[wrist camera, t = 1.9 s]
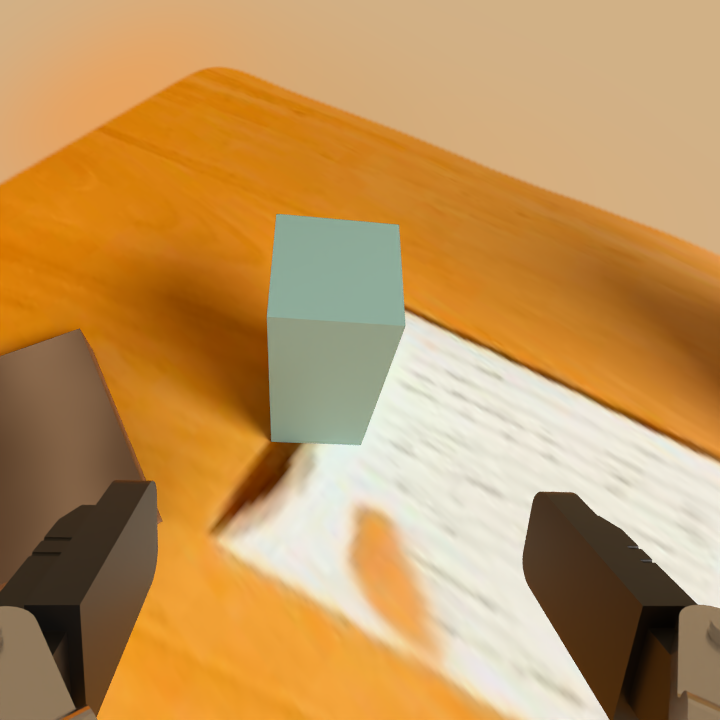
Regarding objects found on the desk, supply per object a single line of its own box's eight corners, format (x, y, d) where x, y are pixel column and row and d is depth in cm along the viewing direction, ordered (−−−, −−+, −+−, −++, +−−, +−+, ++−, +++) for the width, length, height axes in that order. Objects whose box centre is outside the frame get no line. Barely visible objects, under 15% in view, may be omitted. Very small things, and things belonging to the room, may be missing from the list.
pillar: (360, 367, 29) (398, 224, 20) (360, 445, 27) (405, 325, 17) (277, 363, 28) (276, 213, 19) (271, 441, 26) (266, 317, 17)
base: (92, 349, 27) (79, 328, 26) (162, 521, 24) (153, 510, 22) (-136, 432, 24) (-168, 414, 22) (-95, 650, 20) (-130, 648, 18)
